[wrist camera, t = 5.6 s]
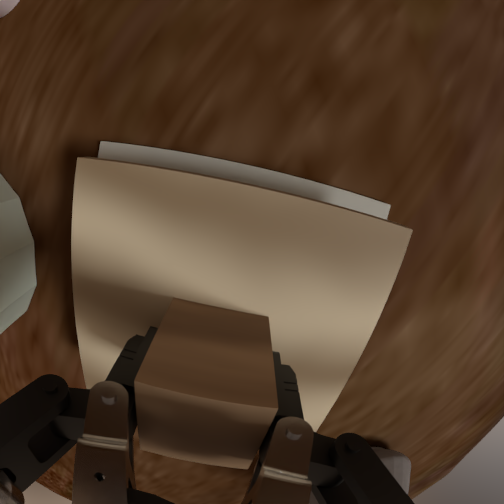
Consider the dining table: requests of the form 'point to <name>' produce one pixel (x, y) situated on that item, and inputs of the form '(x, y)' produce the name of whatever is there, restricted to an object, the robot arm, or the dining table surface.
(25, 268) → the bowl
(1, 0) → the smoothie
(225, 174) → the tray
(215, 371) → the lid
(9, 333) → the dining table surface
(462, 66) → the dining table surface
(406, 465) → the coffee pot
